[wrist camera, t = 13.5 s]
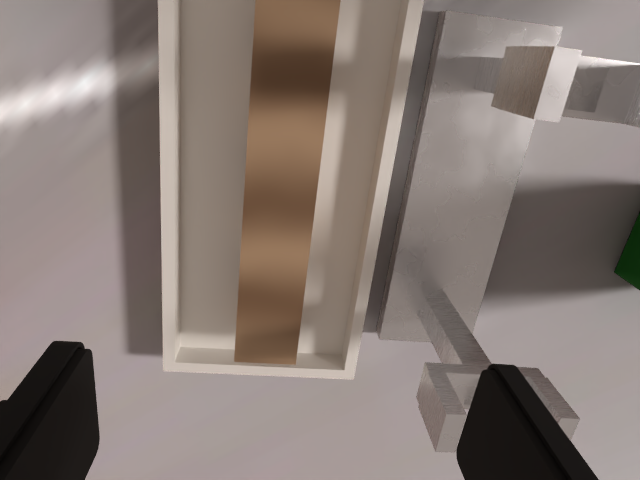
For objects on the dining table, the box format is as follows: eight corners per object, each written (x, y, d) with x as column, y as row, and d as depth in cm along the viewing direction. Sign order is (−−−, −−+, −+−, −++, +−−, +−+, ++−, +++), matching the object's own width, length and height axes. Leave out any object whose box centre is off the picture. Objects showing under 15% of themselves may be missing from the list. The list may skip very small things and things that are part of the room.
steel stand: (439, 11, 26) (569, -15, 15) (551, 27, 27) (761, 15, 15) (376, 330, 35) (425, 478, 23) (463, 335, 36) (554, 480, 24)
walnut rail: (260, -16, 25) (256, -27, 21) (333, -6, 25) (342, -14, 22) (239, 326, 33) (234, 361, 29) (294, 329, 34) (295, 364, 30)
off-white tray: (167, -90, 24) (156, -104, 21) (421, -49, 25) (434, -58, 23) (170, 350, 34) (163, 371, 32) (349, 358, 36) (353, 379, 34)
